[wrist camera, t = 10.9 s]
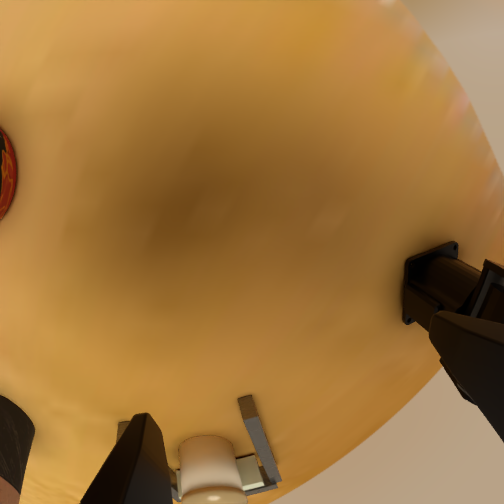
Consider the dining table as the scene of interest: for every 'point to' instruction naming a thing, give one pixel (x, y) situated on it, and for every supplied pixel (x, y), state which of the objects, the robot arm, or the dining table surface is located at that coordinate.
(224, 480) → the jar
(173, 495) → the grey u-shaped frame
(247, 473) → the pusher
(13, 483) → the travel mug
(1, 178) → the canned food
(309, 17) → the dining table surface
